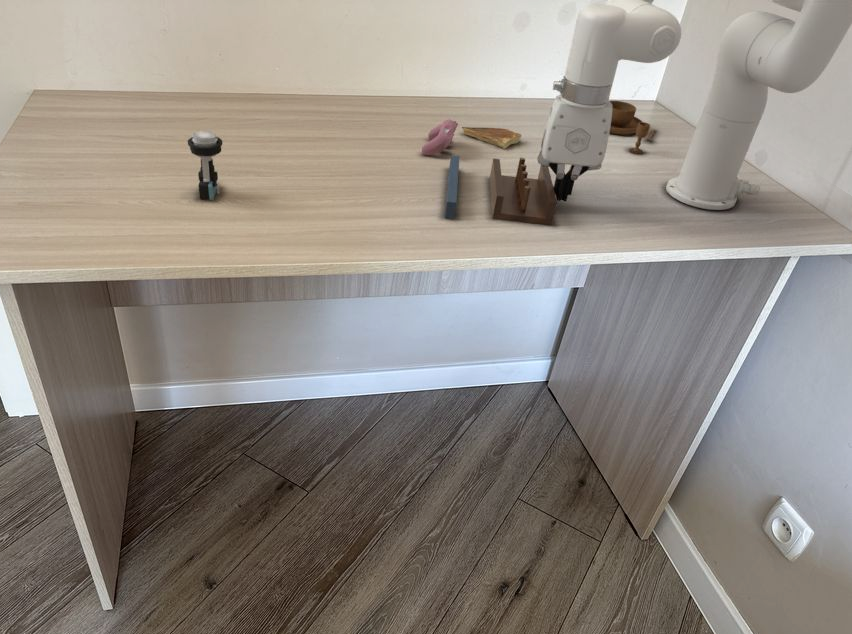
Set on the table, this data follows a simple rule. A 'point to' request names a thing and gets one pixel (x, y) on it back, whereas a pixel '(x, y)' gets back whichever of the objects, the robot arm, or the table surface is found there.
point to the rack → (522, 195)
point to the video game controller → (440, 137)
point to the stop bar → (452, 187)
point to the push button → (206, 161)
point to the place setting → (628, 123)
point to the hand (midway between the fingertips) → (560, 197)
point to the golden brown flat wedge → (494, 135)
